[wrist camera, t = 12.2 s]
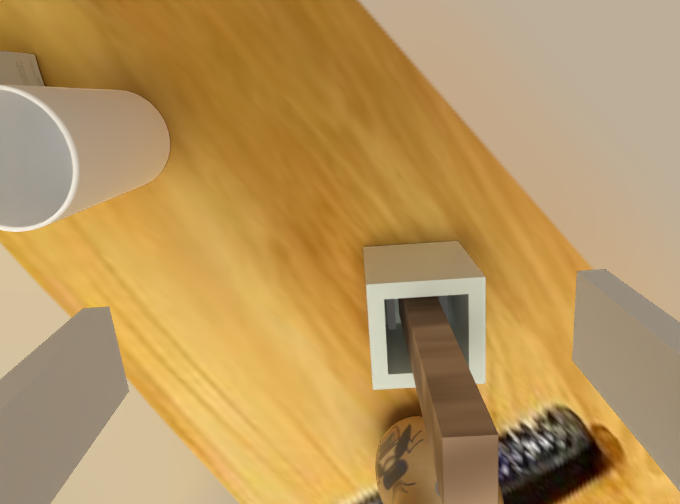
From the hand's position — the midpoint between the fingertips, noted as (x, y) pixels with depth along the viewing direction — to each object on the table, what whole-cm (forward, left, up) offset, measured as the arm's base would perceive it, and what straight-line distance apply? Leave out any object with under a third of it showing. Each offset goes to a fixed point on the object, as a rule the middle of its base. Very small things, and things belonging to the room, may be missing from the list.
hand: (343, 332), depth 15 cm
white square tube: (+10, +5, -32) cm, 34 cm away
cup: (-5, -19, -32) cm, 37 cm away
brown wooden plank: (+11, +5, -31) cm, 33 cm away
